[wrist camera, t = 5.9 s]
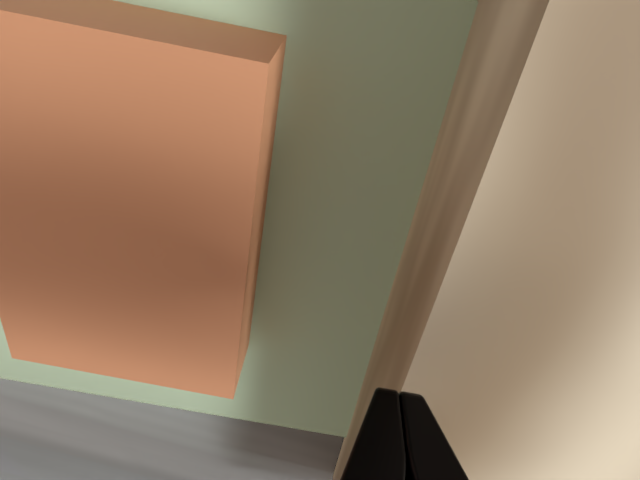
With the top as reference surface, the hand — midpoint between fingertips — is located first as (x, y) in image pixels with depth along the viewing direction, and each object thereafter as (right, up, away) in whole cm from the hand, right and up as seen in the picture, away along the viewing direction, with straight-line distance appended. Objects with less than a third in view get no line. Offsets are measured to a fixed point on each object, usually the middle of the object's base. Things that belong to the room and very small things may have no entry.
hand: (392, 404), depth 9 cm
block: (-6, +3, +2) cm, 7 cm away
